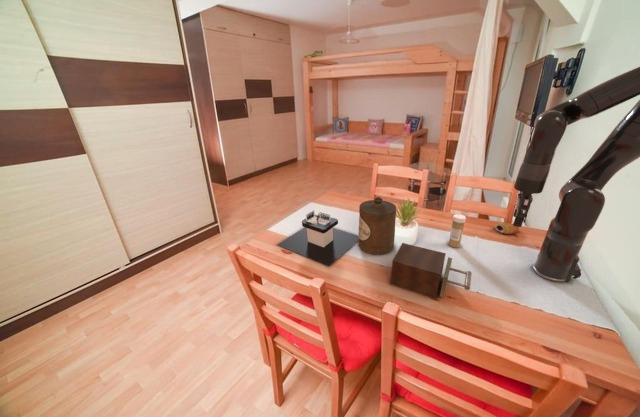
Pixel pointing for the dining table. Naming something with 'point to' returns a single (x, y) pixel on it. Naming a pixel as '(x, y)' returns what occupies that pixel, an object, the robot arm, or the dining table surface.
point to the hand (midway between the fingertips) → (516, 221)
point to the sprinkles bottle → (456, 230)
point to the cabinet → (417, 269)
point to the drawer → (445, 281)
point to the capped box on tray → (320, 239)
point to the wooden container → (377, 226)
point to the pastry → (506, 228)
